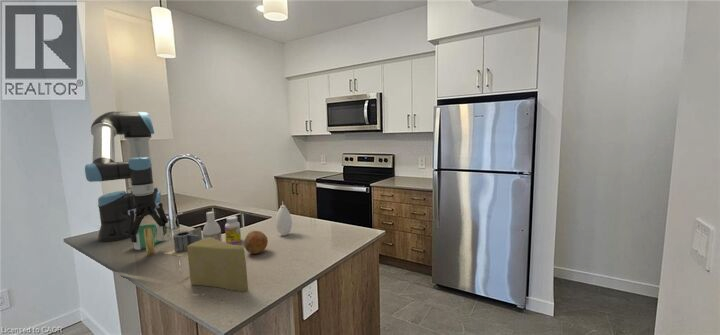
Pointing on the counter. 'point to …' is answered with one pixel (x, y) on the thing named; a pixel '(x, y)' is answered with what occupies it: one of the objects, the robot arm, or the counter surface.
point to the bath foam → (211, 228)
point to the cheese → (217, 264)
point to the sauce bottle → (283, 220)
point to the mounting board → (176, 253)
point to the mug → (154, 227)
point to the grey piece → (186, 239)
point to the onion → (255, 242)
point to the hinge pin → (149, 241)
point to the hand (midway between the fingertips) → (149, 244)
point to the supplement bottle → (232, 230)
